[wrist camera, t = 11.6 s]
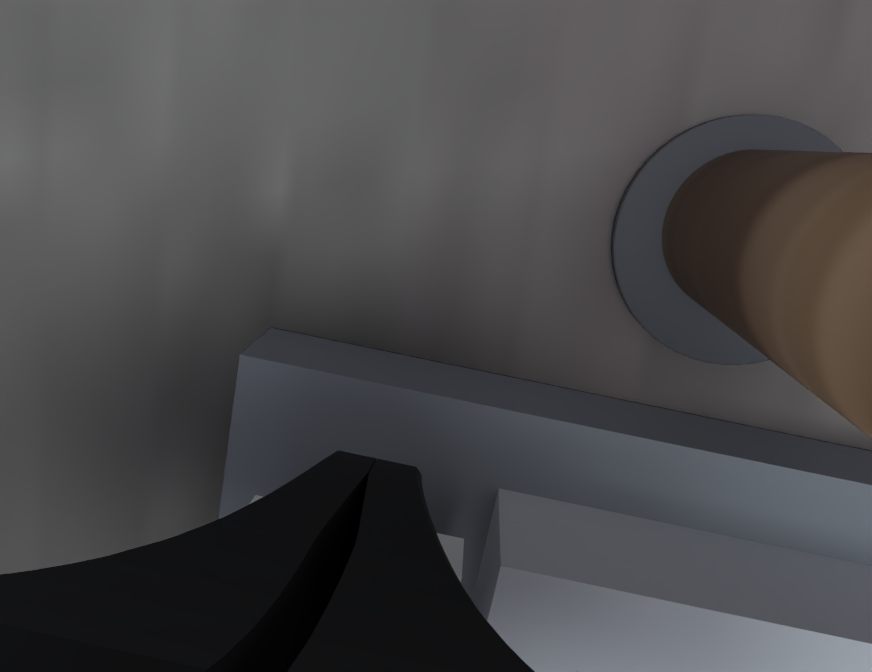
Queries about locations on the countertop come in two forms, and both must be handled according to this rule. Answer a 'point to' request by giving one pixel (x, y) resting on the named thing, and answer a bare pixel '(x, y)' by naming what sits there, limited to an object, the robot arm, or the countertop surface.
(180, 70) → the countertop surface
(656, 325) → the coaster
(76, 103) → the countertop surface
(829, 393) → the dowel
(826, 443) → the grey fixture with socket
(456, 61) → the countertop surface
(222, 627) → the robot arm
